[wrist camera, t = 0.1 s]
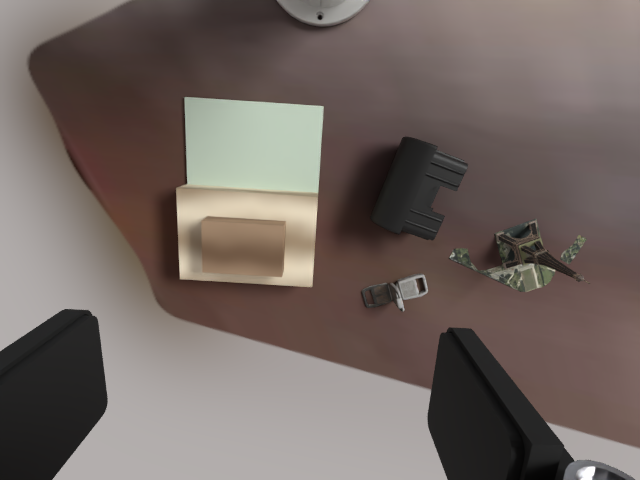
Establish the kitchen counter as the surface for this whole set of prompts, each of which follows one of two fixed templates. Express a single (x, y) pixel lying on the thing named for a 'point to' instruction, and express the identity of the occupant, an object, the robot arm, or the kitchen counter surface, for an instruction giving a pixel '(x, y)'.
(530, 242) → the eiffel tower figurine
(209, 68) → the kitchen counter surface
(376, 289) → the strap clip
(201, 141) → the mat
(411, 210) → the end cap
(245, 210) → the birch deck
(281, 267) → the brown box
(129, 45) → the kitchen counter surface
